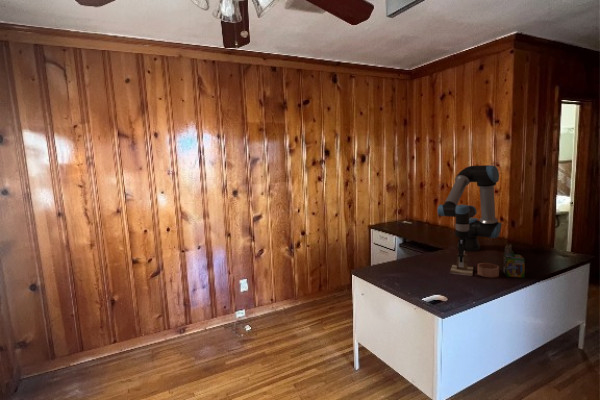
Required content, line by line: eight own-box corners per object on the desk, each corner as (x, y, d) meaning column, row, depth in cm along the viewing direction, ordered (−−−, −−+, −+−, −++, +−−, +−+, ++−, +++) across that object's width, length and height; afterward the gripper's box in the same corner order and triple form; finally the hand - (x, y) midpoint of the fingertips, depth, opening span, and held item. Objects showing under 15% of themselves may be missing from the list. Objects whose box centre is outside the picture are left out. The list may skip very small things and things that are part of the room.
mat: (452, 267, 206) (452, 266, 206) (473, 269, 200) (473, 268, 200) (450, 273, 195) (450, 273, 195) (472, 276, 189) (472, 275, 189)
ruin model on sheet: (509, 259, 216) (510, 245, 214) (504, 258, 218) (504, 244, 216) (512, 254, 224) (512, 241, 223) (507, 254, 226) (507, 241, 225)
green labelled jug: (524, 278, 182) (525, 253, 180) (506, 277, 186) (506, 252, 184) (520, 272, 191) (521, 248, 189) (502, 271, 194) (503, 248, 192)
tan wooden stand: (452, 266, 206) (452, 250, 205) (473, 268, 200) (473, 252, 198) (450, 272, 196) (450, 256, 194) (472, 275, 190) (472, 258, 188)
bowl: (477, 270, 198) (477, 262, 197) (498, 272, 193) (498, 264, 192) (477, 276, 189) (477, 267, 188) (499, 279, 183) (499, 270, 182)
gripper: (457, 225, 207) (456, 257, 210) (453, 234, 186) (453, 269, 188) (470, 226, 203) (469, 258, 206) (467, 235, 182) (467, 270, 185)
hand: (461, 263), depth 197 cm, fingers open, 13 cm apart
